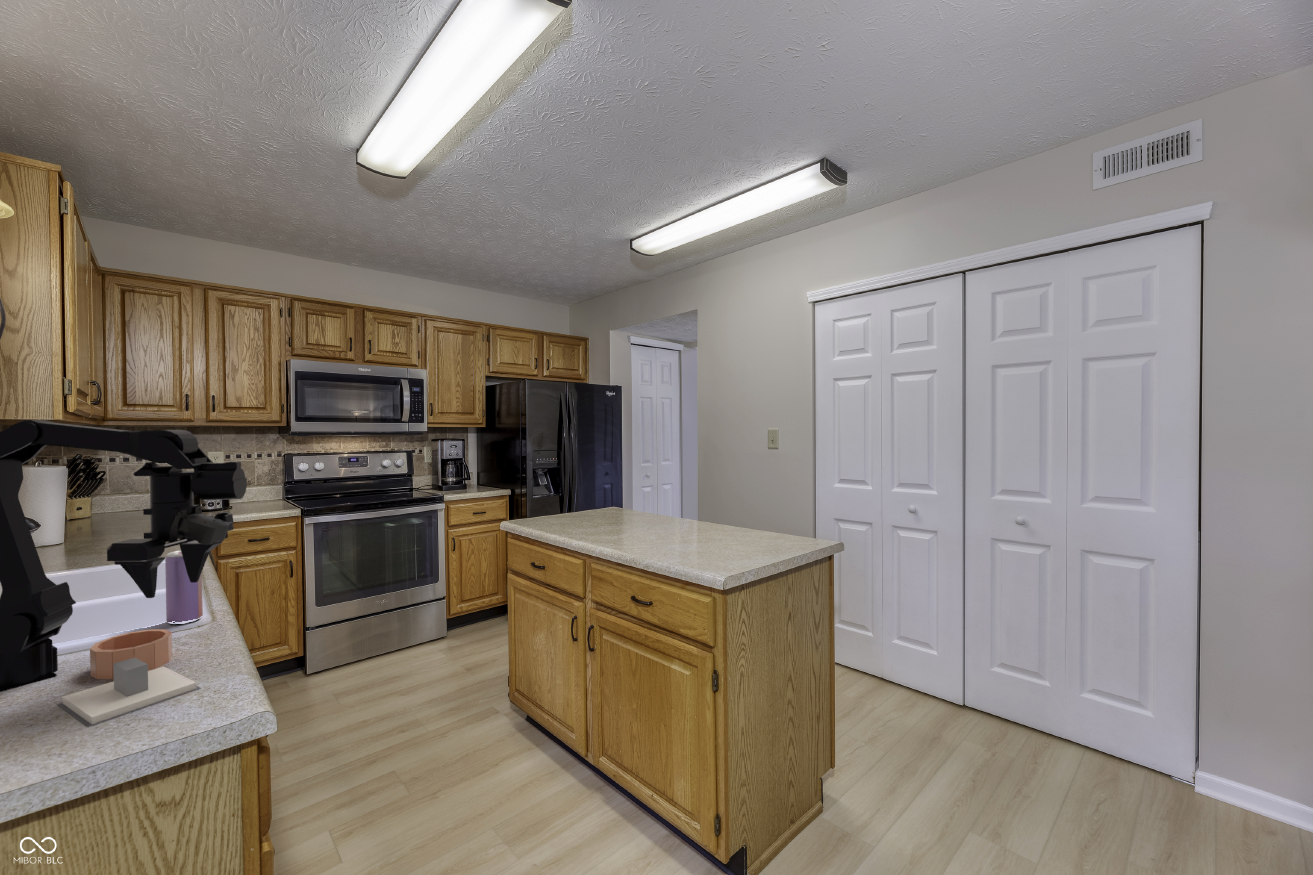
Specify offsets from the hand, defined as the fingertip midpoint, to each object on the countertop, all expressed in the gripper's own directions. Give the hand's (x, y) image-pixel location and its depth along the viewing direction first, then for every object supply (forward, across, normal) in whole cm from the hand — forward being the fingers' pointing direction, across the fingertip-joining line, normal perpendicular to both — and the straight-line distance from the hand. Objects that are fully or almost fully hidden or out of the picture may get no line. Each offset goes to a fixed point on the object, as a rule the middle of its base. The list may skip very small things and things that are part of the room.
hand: (173, 589), depth 97 cm
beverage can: (+14, +23, +16) cm, 32 cm away
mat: (+14, -12, -3) cm, 18 cm away
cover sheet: (+13, -12, -3) cm, 18 cm away
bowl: (+14, -1, +6) cm, 15 cm away
